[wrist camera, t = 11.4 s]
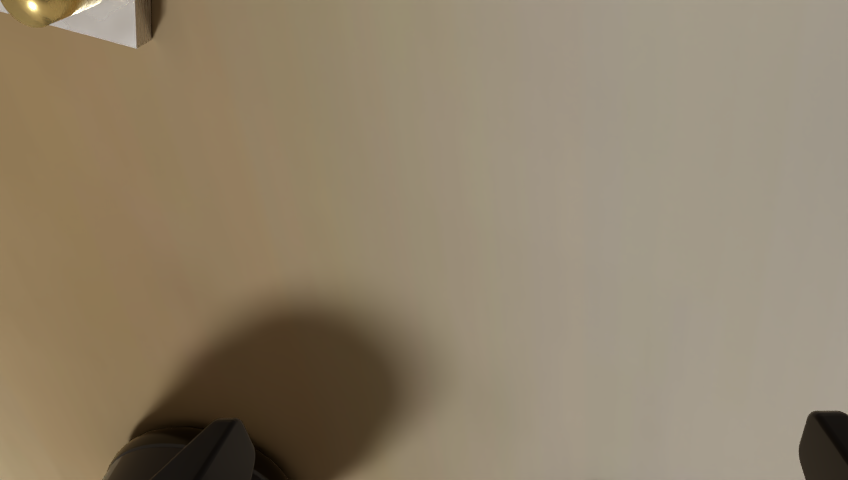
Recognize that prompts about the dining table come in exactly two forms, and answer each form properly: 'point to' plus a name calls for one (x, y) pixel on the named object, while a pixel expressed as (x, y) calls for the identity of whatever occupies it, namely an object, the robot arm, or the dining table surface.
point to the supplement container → (170, 456)
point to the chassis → (88, 17)
